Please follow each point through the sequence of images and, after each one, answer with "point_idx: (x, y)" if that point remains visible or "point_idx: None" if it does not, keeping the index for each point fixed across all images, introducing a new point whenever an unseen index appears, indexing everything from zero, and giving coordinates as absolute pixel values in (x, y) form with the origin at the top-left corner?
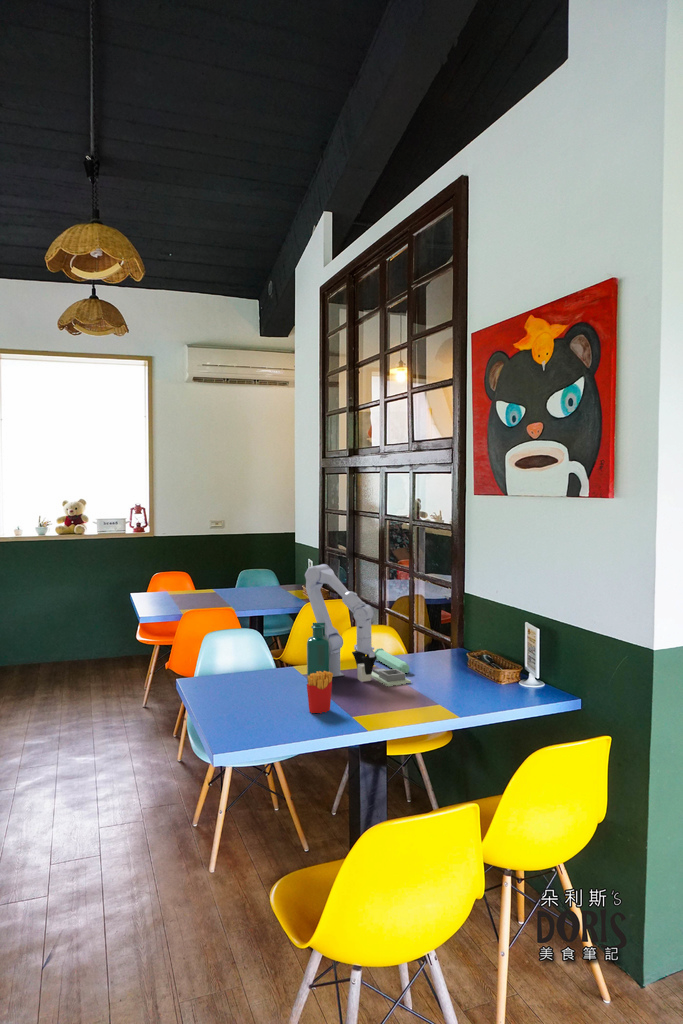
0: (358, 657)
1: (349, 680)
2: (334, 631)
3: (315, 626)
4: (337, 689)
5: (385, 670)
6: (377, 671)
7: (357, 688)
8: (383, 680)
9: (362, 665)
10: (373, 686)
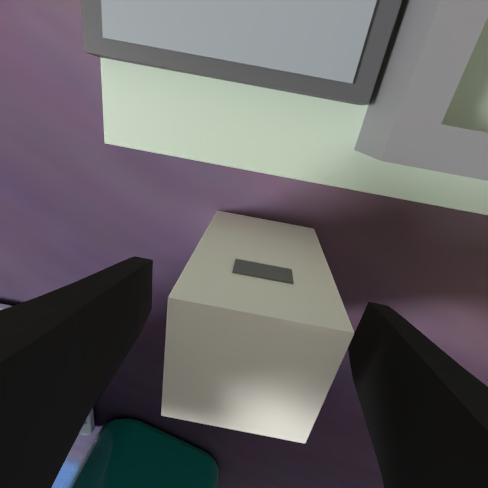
0: (39, 463)
1: None
2: None
3: None
4: (328, 471)
5: (451, 36)
6: (206, 56)
7: None
8: None
9: (275, 419)
10: (465, 314)
